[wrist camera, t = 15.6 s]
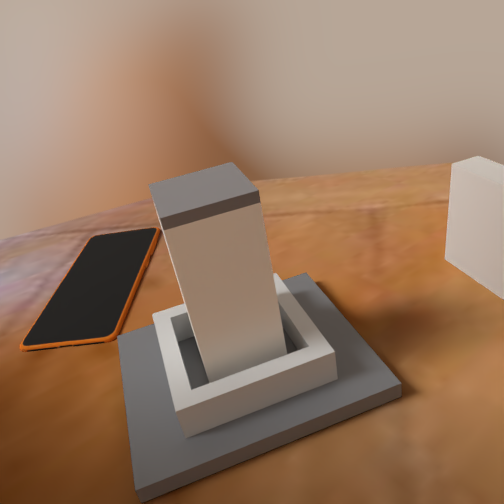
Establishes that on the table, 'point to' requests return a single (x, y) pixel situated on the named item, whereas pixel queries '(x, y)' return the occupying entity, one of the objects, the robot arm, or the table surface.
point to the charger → (222, 267)
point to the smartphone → (94, 292)
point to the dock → (242, 390)
